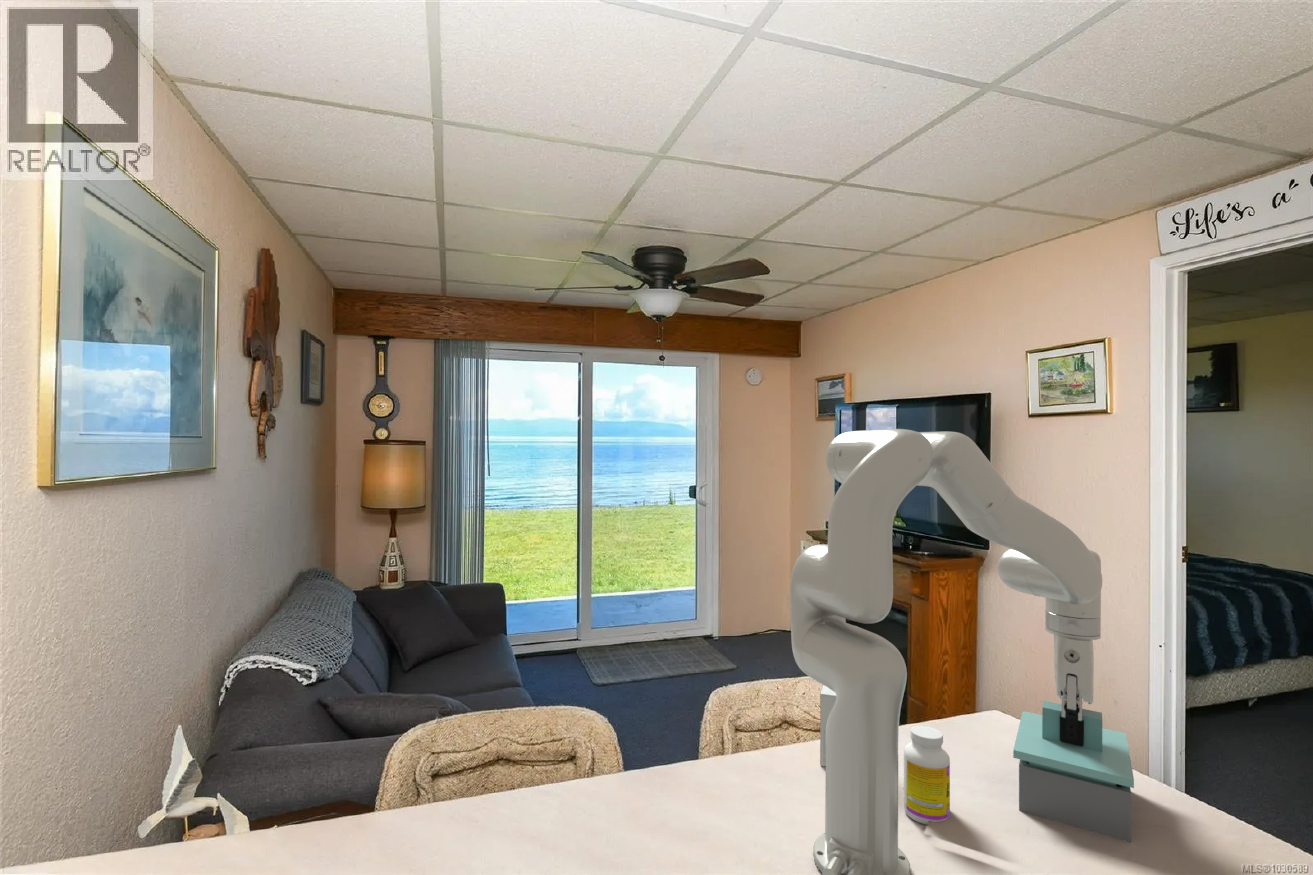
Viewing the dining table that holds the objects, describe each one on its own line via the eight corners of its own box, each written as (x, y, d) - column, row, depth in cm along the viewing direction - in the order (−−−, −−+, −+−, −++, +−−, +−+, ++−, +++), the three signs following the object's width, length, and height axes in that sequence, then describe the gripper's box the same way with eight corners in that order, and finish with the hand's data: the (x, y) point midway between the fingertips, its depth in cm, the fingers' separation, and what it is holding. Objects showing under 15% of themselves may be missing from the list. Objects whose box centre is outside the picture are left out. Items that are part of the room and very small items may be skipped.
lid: (1133, 799, 90) (1134, 744, 90) (1013, 768, 98) (1013, 717, 98) (1125, 750, 105) (1126, 703, 106) (1022, 726, 114) (1022, 683, 114)
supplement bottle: (954, 830, 94) (955, 744, 95) (908, 824, 96) (908, 739, 96) (943, 806, 101) (944, 725, 101) (900, 801, 102) (900, 721, 102)
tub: (1131, 849, 90) (1131, 792, 90) (1019, 816, 98) (1019, 764, 98) (1124, 794, 105) (1123, 745, 105) (1027, 769, 113) (1027, 724, 113)
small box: (823, 746, 121) (823, 678, 121) (858, 752, 119) (858, 682, 119) (819, 766, 113) (819, 693, 114) (856, 772, 111) (856, 698, 111)
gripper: (1102, 640, 93) (1101, 765, 93) (1099, 618, 107) (1098, 727, 106) (1042, 631, 98) (1042, 751, 97) (1047, 611, 111) (1046, 716, 111)
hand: (1071, 737), depth 102 cm, fingers closed on lid, 3 cm apart
